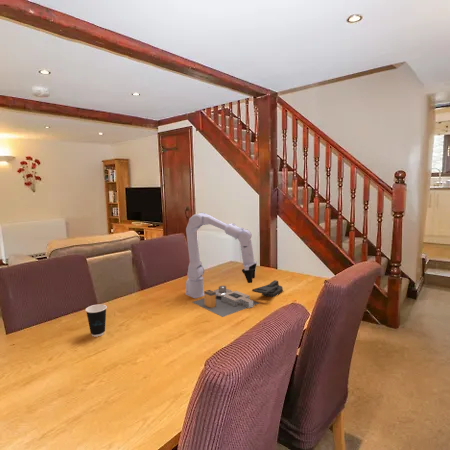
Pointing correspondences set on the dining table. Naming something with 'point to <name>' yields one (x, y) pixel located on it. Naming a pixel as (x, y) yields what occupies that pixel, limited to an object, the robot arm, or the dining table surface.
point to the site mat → (221, 307)
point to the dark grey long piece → (269, 289)
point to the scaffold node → (233, 297)
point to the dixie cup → (96, 319)
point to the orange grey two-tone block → (210, 298)
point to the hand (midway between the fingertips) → (251, 280)
